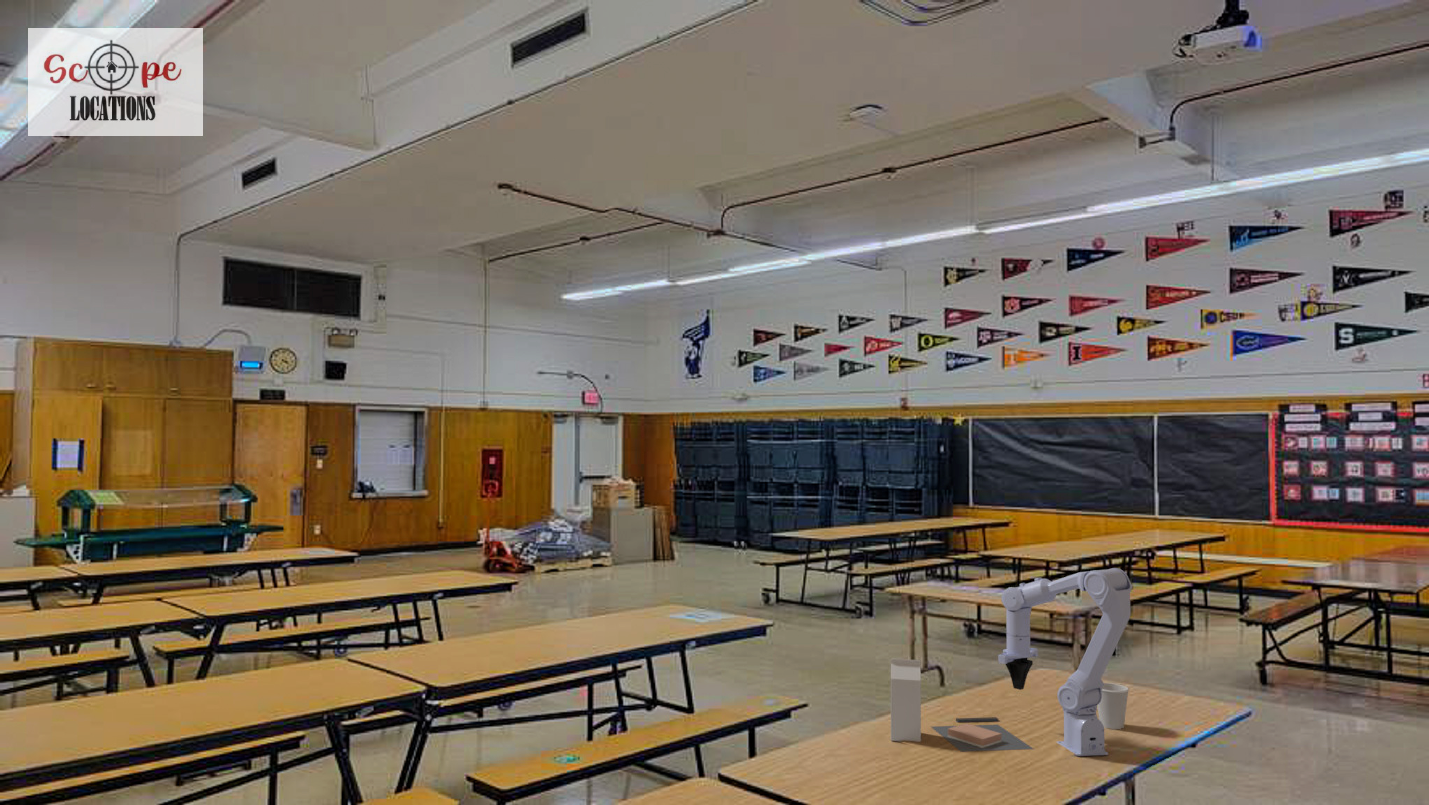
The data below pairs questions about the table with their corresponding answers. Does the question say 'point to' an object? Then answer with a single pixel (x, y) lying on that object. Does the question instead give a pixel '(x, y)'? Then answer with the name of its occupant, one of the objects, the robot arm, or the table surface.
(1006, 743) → the mat
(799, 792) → the table surface
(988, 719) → the turner
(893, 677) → the milk carton
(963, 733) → the tile
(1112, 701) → the dixie cup
